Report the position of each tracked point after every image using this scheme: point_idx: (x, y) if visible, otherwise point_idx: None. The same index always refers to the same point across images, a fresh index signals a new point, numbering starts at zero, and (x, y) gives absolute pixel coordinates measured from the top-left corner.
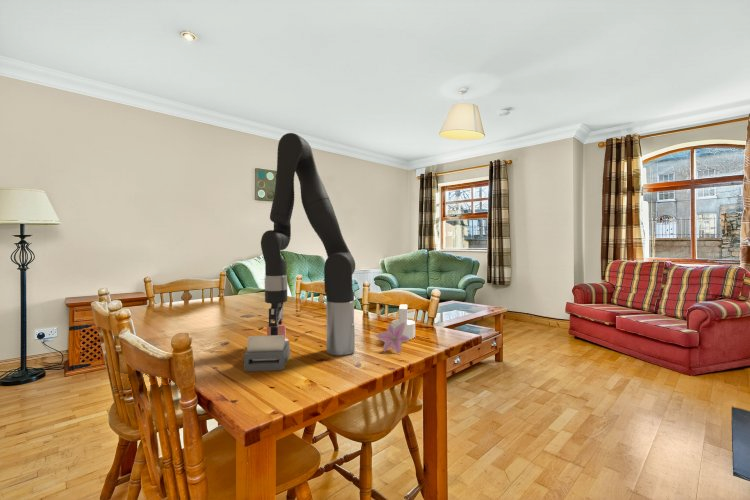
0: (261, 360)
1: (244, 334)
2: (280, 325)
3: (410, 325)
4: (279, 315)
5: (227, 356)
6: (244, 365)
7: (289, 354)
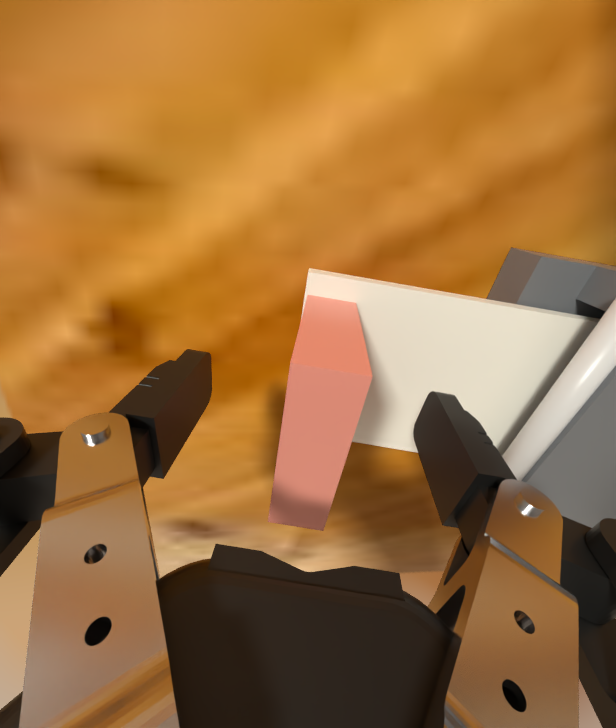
0: None
1: None
2: (331, 426)
3: None
4: (573, 695)
5: (381, 521)
6: None
7: (551, 255)
